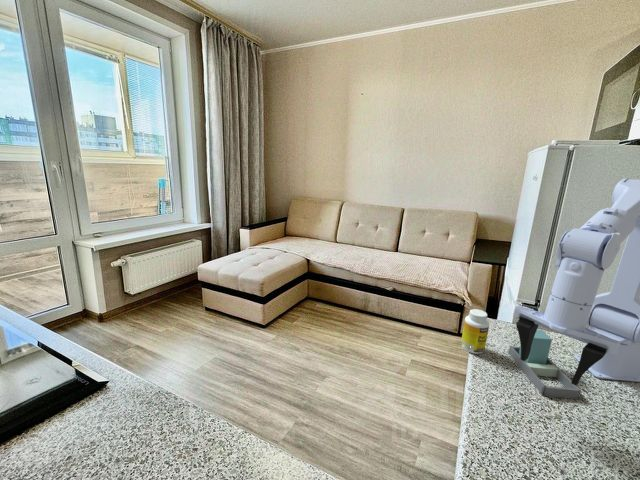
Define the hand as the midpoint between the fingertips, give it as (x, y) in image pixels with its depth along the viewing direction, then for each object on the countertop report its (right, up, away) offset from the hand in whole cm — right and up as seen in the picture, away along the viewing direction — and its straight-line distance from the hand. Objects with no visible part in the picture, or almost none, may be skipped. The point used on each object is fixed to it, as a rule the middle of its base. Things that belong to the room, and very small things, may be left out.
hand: (548, 370), depth 55 cm
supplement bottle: (-2, -5, +24) cm, 25 cm away
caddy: (+10, -7, +15) cm, 19 cm away
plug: (+10, -6, +19) cm, 22 cm away
